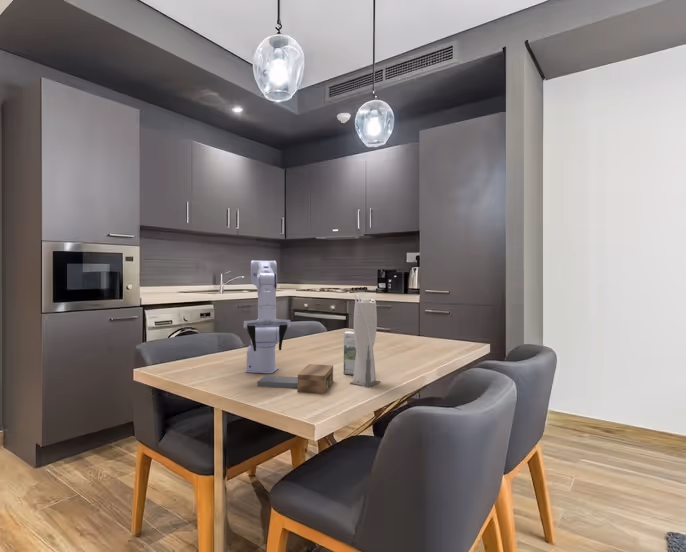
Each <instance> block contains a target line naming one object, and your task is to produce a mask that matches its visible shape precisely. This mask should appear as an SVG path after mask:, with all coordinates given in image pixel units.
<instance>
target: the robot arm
mask: <svg viewBox="0 0 686 552" xmlns="http://www.w3.org/2000/svg"><path fill="white" fill-rule="evenodd" d="M277 266H278V265H277V261H276V260H254V259H253V260H251V261H250V281H251V284H252V285H254V286H256V291H257V319H253V320H243V329H247V333H248V335H249V338H250V344H251V345H248V347H247V350H246V370H245V372H246V373H253V374H273V373H274V372H276V371H277V370H278V369H280V368H279V366H276V346H277V345H278V351H282V346H283V341H284V337H285V335H286V333H287V330H288V328H291V319H278V318H277V289H278V275H277V274H278V273H277V270H278V268H277Z"/></svg>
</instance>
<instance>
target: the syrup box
mask: <svg viewBox="0 0 686 552" xmlns="http://www.w3.org/2000/svg"><path fill="white" fill-rule="evenodd" d="M356 351H357V349H356V344H355V338H354V330H346V331H345V332H344V333H343V375H349V376H354V367H355V358H356Z"/></svg>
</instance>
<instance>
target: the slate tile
mask: <svg viewBox="0 0 686 552" xmlns="http://www.w3.org/2000/svg"><path fill="white" fill-rule="evenodd" d="M256 384H257V385H256V386H257V387H263V386H268V387H269V388H283V389H284V388H285V389H298V376H284V375H282V376H280V375H264V376H263V377H261V378H260V379H259V380H258V381H257V383H256ZM268 387H267V388H268Z"/></svg>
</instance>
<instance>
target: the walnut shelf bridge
mask: <svg viewBox="0 0 686 552" xmlns="http://www.w3.org/2000/svg"><path fill="white" fill-rule="evenodd" d="M297 377H298V388H296V389H297V392H299V393H317V394H325V393H326V391H327V390H328V389H329V386H331V385H332V383H333V381H334V365H332V364H315V363H314V364H312V363H311V364H310V363H309V364H308V365H306V366H305V367H304V368H303V369H302V370H301V371H300V372H299V373H297Z"/></svg>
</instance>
